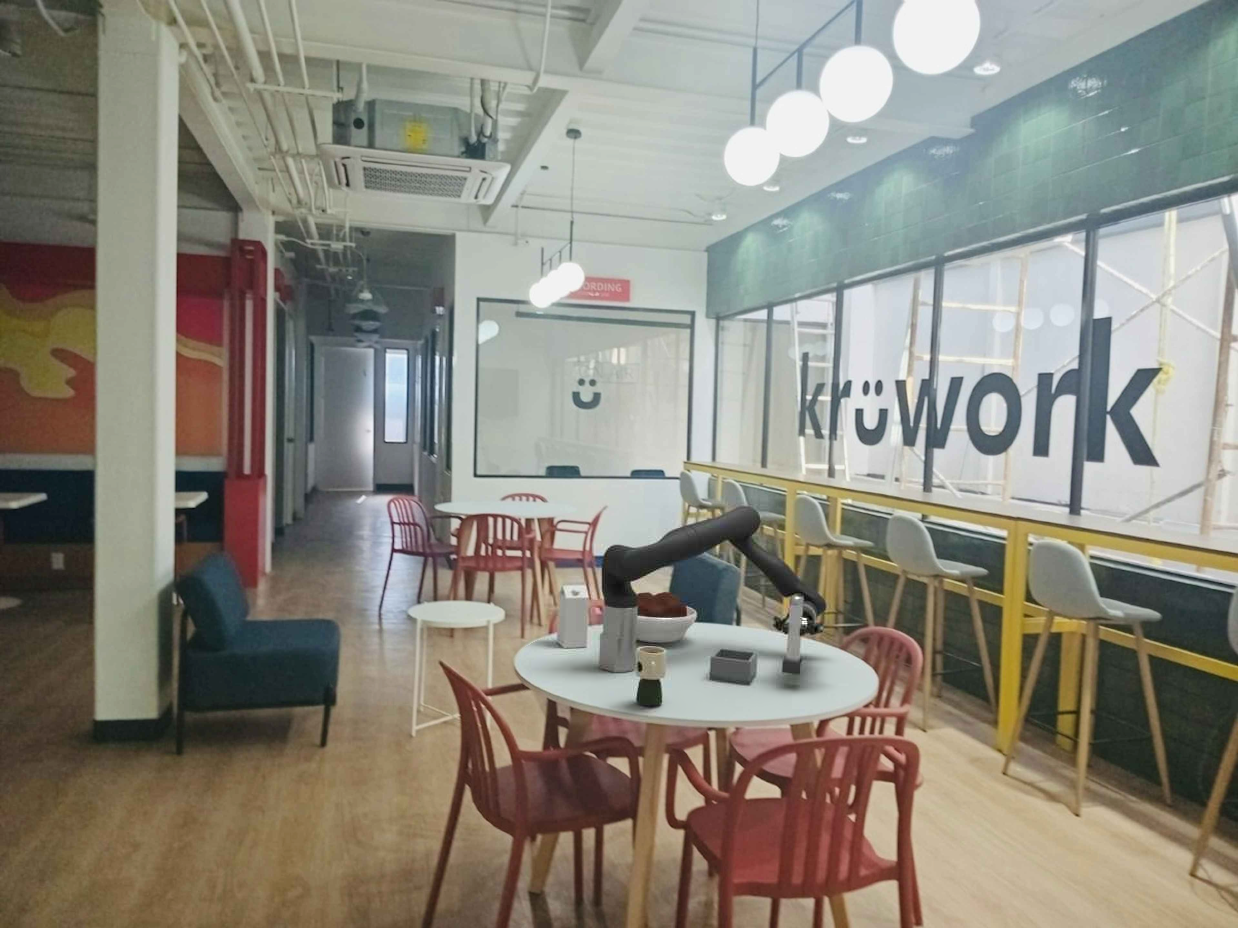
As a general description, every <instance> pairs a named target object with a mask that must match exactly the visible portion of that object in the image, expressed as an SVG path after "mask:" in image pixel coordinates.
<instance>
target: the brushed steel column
mask: <svg viewBox="0 0 1238 928" xmlns="http://www.w3.org/2000/svg"><path fill="white" fill-rule="evenodd" d="M803 602H804V597H803V596H798V595H797V596H796V595H792V596H790V597H789V612H788V613H789V624H788V625H789V627H788V634H787V641H786V642H787V643H786V656H784V658H783V659H782V666H781V673H783V674H790V675H791V674H792V675H797V676H801V674H802V671H803V667H804V666H803V665H804V659H803V658H801V644H802V636H799V634H800V627H801V626H802V615H803Z"/></svg>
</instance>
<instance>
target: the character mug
mask: <svg viewBox="0 0 1238 928" xmlns="http://www.w3.org/2000/svg"><path fill="white" fill-rule="evenodd" d="M666 668H667V650H666V648H663V647H660V646H654V645H653V646H652V645H650V646H649V645H648V646H647V645H644V646H639V647H636V657H635V676H637V677H638V678H640V679H639V681H638V685H637V690H636V691H637V692H636V698H635V700H636V703H637V704H639V705H642V706H643V705H644V706H645V705H646V706H649V707H651V706H652V705H660V704H662V703H663V689H662V682H661V679H664V678H665V676H666Z"/></svg>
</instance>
